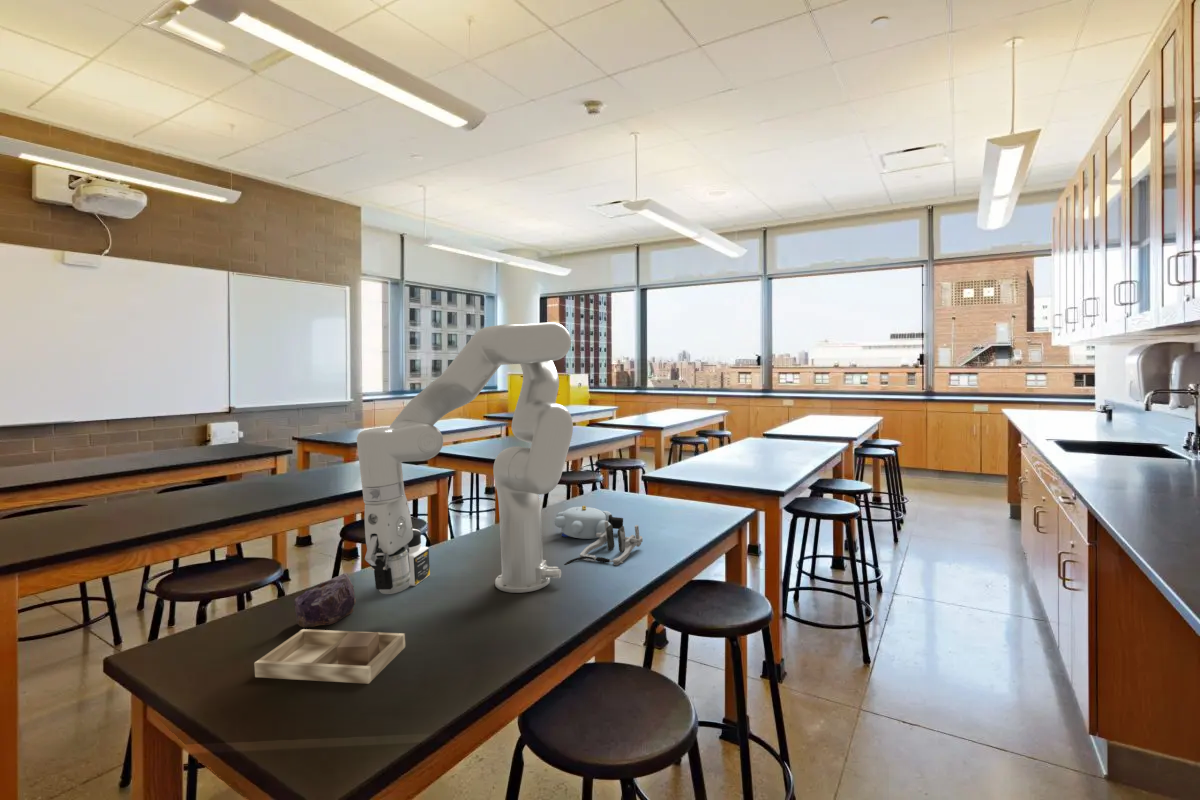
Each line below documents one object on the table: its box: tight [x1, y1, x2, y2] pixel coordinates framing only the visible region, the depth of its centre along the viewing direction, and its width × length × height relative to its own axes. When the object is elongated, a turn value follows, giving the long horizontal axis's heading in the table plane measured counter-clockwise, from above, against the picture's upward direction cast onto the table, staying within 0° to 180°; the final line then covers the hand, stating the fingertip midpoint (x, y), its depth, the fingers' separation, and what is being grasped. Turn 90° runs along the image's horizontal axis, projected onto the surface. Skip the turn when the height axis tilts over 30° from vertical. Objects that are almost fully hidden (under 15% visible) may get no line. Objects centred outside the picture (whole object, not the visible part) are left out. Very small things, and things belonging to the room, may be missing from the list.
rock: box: [294, 572, 357, 628], centre depth 116 cm, size 12×9×10 cm
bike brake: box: [563, 521, 644, 566], centre depth 151 cm, size 14×7×20 cm
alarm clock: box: [553, 505, 624, 540], centre depth 171 cm, size 17×8×20 cm
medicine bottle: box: [408, 528, 431, 587], centre depth 138 cm, size 7×7×12 cm
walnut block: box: [337, 631, 380, 666], centre depth 98 cm, size 5×5×4 cm
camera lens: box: [378, 547, 410, 595], centre depth 114 cm, size 6×6×8 cm
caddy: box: [253, 628, 406, 685], centre depth 99 cm, size 20×12×3 cm, turn 81°
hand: (393, 580), depth 114 cm, fingers closed on camera lens, 6 cm apart
